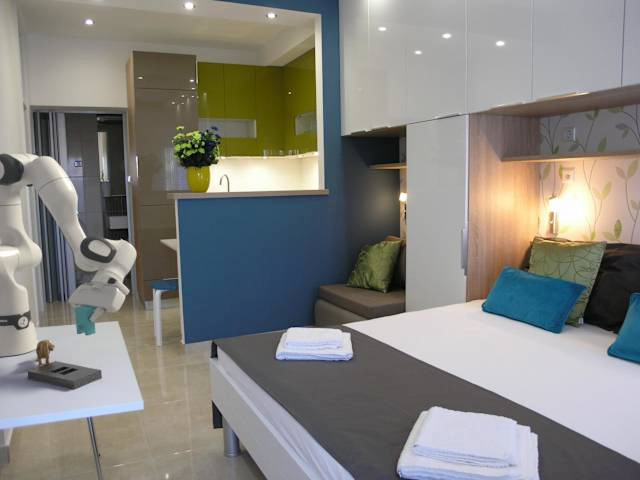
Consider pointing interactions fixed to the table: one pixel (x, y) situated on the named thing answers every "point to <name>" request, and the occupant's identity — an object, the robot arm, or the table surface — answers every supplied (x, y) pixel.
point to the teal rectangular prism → (84, 320)
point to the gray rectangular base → (64, 374)
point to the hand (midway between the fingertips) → (83, 320)
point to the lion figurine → (44, 351)
